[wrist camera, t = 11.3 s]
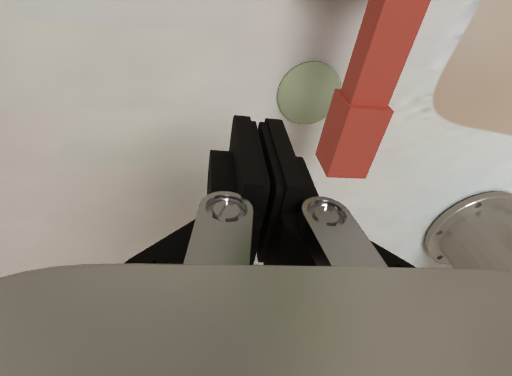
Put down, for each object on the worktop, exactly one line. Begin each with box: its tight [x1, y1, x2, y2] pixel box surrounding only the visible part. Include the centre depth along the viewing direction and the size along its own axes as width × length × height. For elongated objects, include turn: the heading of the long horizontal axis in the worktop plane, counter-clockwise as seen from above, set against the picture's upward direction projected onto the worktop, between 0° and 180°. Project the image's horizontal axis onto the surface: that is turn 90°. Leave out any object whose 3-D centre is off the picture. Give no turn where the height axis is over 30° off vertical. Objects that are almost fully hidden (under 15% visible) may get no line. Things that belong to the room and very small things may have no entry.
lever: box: [316, 0, 431, 178], centre depth 19 cm, size 18×4×3 cm, turn 172°
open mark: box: [277, 61, 341, 124], centre depth 30 cm, size 6×6×1 cm
